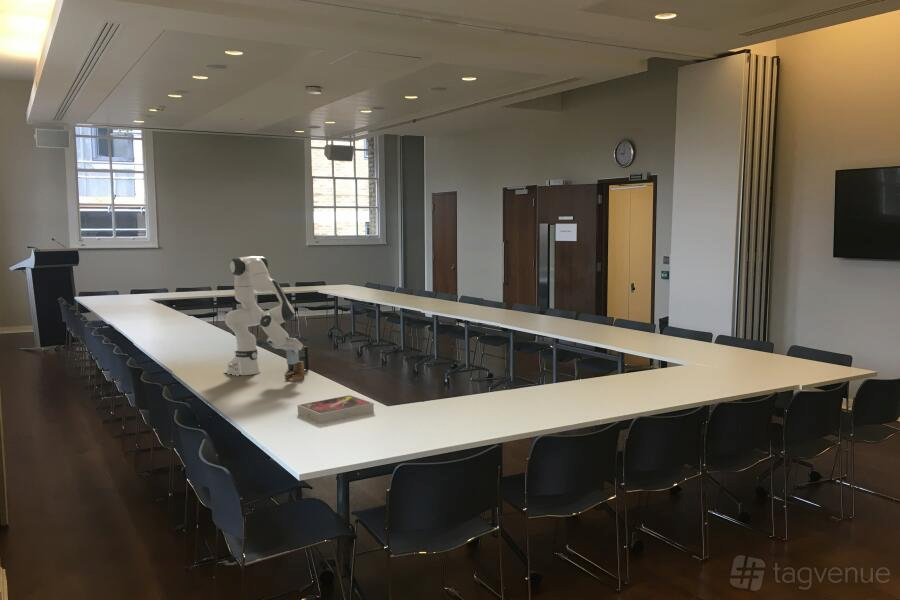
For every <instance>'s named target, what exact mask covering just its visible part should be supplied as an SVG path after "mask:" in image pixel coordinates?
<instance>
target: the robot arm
mask: <svg viewBox="0 0 900 600" xmlns="http://www.w3.org/2000/svg"><path fill="white" fill-rule="evenodd" d="M268 268H269V262H268V259H267V258H266V257H265V256H261V255H258V256H256V255H248V256H241V257H234V258H232V259H231V260H230V262H229V270H230V273H232V275H234V282H233V283H234V287H233V288H234V299H235V300H236V301H237V302H238V303H240V304H241V306H242V308H241V309H234V310H231V311H228V312H227V313H226V314H225V316H224V323H225V325H226V326H227V327H228V328H229V329H230V330H231V331H232V332H233V333H234V335H235V339H236V347H237V348H236V349H237V350H234V354H235V355H234V357H233V358H232V359H231V360H230V361H228V363H227V369H226V370H223V374H225V373H227V374H226V375H230V374H232V375H231V376H235V375H236V376H235V377H239V375H241V376H250V375H256V374H260V373H261V368H260V366H259V365H260V364H259V359H258V355H259V354H258V349H257V337H256V335H255V334H253V332H252V333H251V332H250V331H249V327H254V326H258V325H260V327H261V329H262V330H263V331H264V333H265V334H266V335H267V339H266V342H267V343H268V344H269V345H270V346H271V347H272V348H274V349H277V350H278V349H280V350H284V351H285V352H286V349H287V350H294V351H293V352H294V353H297V352H298V350H301V349H302V347H303V346H304V344H303V343H302V342H301V341H300V340H299V339H298V338H295V337H290V335H289V333H288V332H287V331H286V329H284V328H283V327H282V326H281V324H283V323H285V322H288V321H289V322H290V321H291V320H293V319H294V317H295V315H296V311H295V309H294V306H292V304H291V302H290V301H289V299H288V298H287V296H286V293H285V291H284V290H283V288H282V287H281V285H280V283H279V282H278V281H277V280H276V279H273V278H272V277H271V276H270V273H269V271H268ZM255 291H257V292H259V293H274V294H275V296H276V298H277V299H278V301H279V305H277V306H275V307H273V308H271V309H268V310H266V311H264V310H263V309H262V308H261V307H260V306H259V305H258V303H257V301H256V298H255Z"/></svg>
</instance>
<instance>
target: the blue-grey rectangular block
mask: <svg viewBox="0 0 900 600" xmlns="http://www.w3.org/2000/svg"><path fill="white" fill-rule="evenodd" d="M293 351H294V350H287V349H286V351H285V352H286V353H285V354H286V364H287V365H288V364H295V363H299V355H298V352H297V353H294V352H293Z"/></svg>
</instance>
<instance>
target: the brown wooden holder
mask: <svg viewBox="0 0 900 600" xmlns="http://www.w3.org/2000/svg"><path fill="white" fill-rule="evenodd" d="M293 367H294V371H292V372H290V373H287V374H285V375H284V381H285V380H287V381H286V382H292V381H295V382H298V381H301V380H304V379H305V371H304V361H299V363H295V364H293ZM303 378H304V379H303ZM300 379H301V380H300ZM297 380H298V381H297Z"/></svg>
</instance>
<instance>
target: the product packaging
mask: <svg viewBox="0 0 900 600" xmlns="http://www.w3.org/2000/svg"><path fill="white" fill-rule="evenodd" d="M374 407H375V405H374V402H371V401H368V400H365V399H363V398H360V397H357V396H354V395H351V394H348V395H344V396H343V395H342V396H337V397H332V398H327V399H323V400H322V399H321V400H316V401H310V402H307V403H300V404H297V415H298V414H299V416H302V417H303V416H304V417H303V418H305V417H306V418H305V419H308V420H310V421H313V422H314V421H315V423H317V424H319V425H321V424H325V423H330V422H331V423H332V422H335V421H340V420H345V419H349V418H354V417H359V416H364V415H369V414H373V413H375V412H374V411H375V410H374V409H375V408H374Z"/></svg>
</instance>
